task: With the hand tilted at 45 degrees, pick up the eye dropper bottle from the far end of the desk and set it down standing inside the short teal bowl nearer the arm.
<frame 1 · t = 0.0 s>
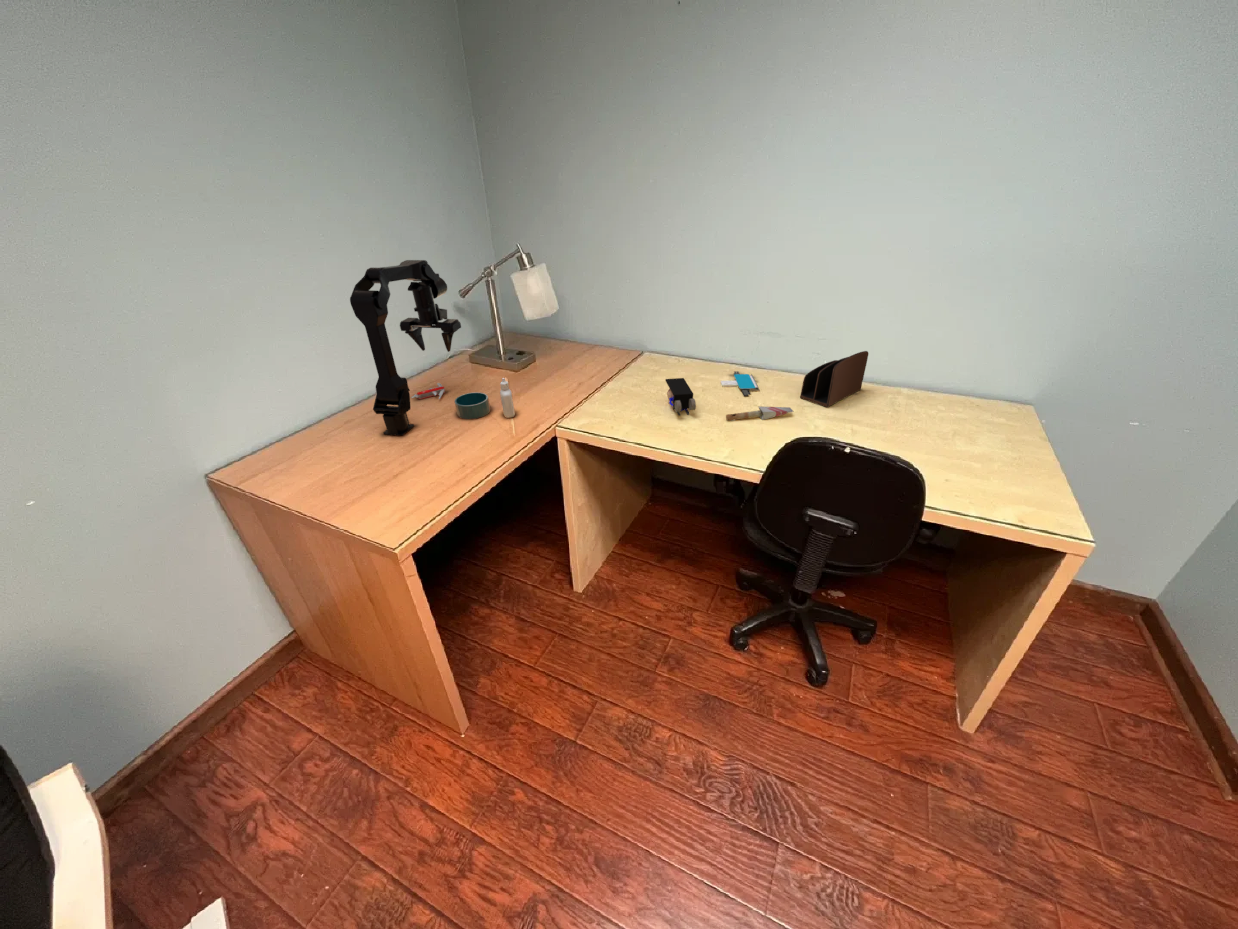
hand: (436, 350, 163), 15 cm above the table, tool pointing down, fingers open, 9 cm apart
teal bowl: (474, 411, 156), on the table
paintbrush: (758, 417, 147), on the table
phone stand: (738, 384, 168), on the table
black block with wheels: (679, 408, 154), on the table
eye dropper bottle: (509, 414, 154), on the table
letter holder: (830, 394, 159), on the table
swiss army knife: (429, 396, 168), on the table
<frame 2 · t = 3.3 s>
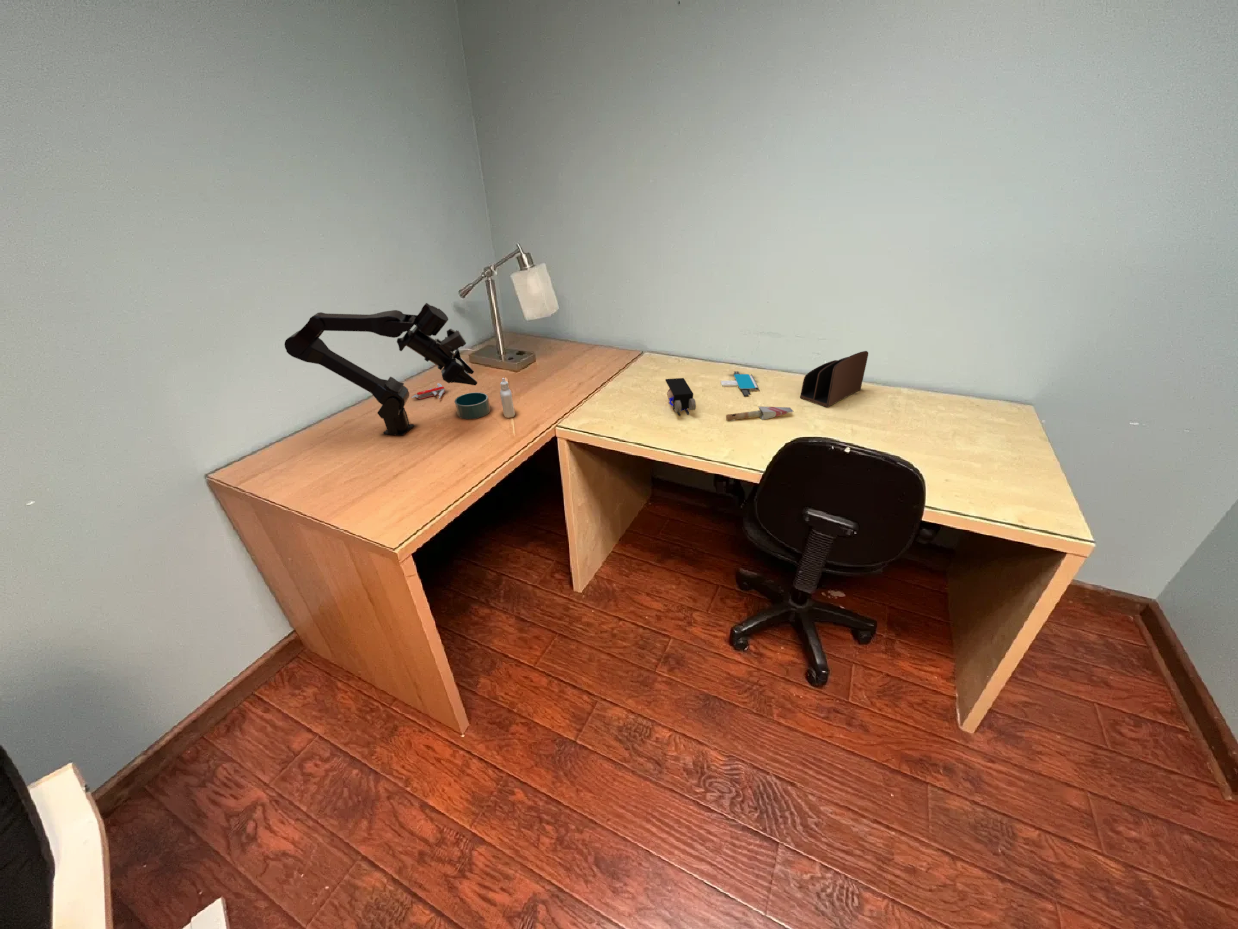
hand: (474, 378, 145), 13 cm above the table, tool tilted 45°, fingers open, 9 cm apart
nothing on the table moved.
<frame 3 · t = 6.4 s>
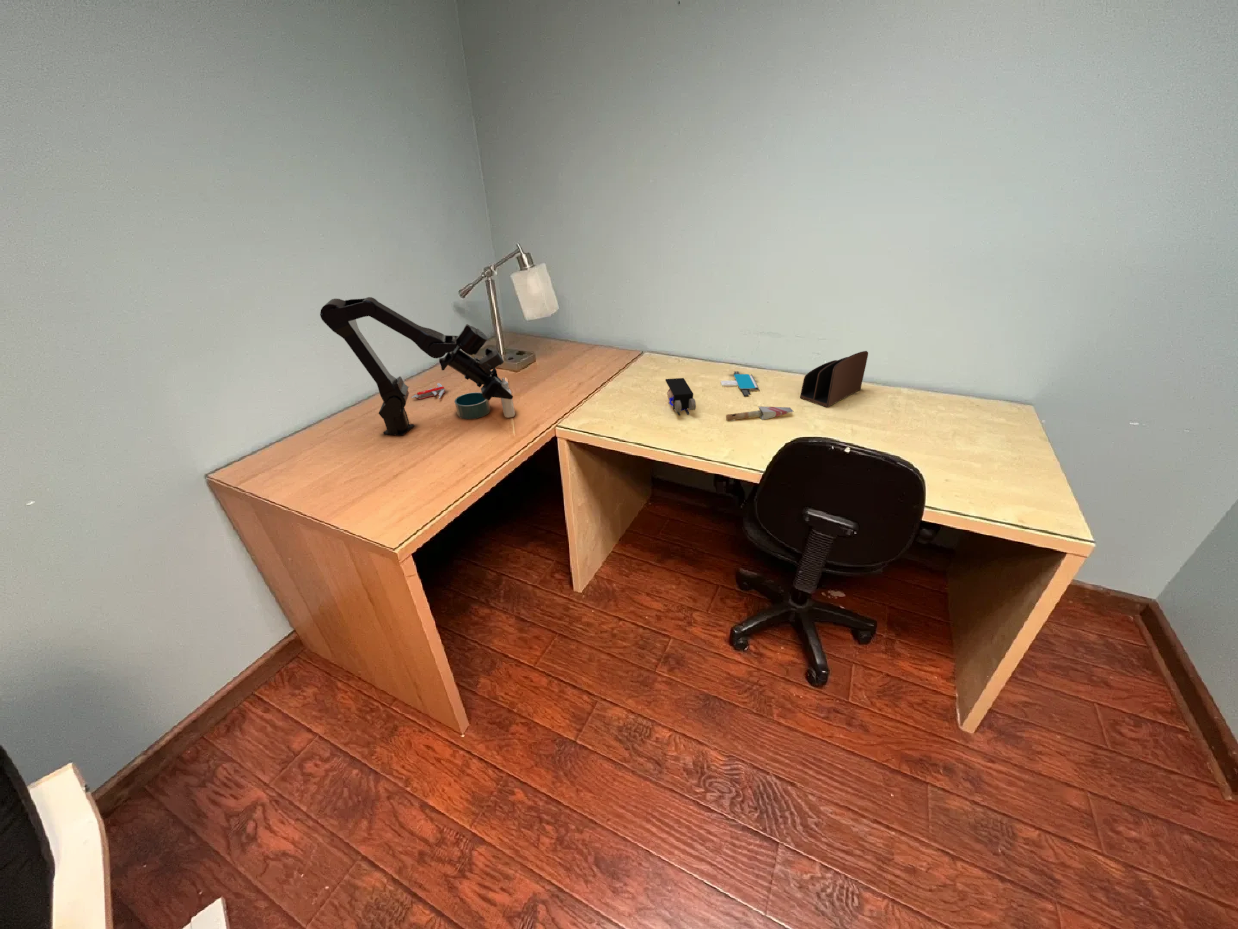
hand: (510, 394, 151), 7 cm above the table, tool tilted 45°, fingers closed on eye dropper bottle, 5 cm apart
eye dropper bottle: (509, 414, 154), on the table, touching gripper
everything else where it was.
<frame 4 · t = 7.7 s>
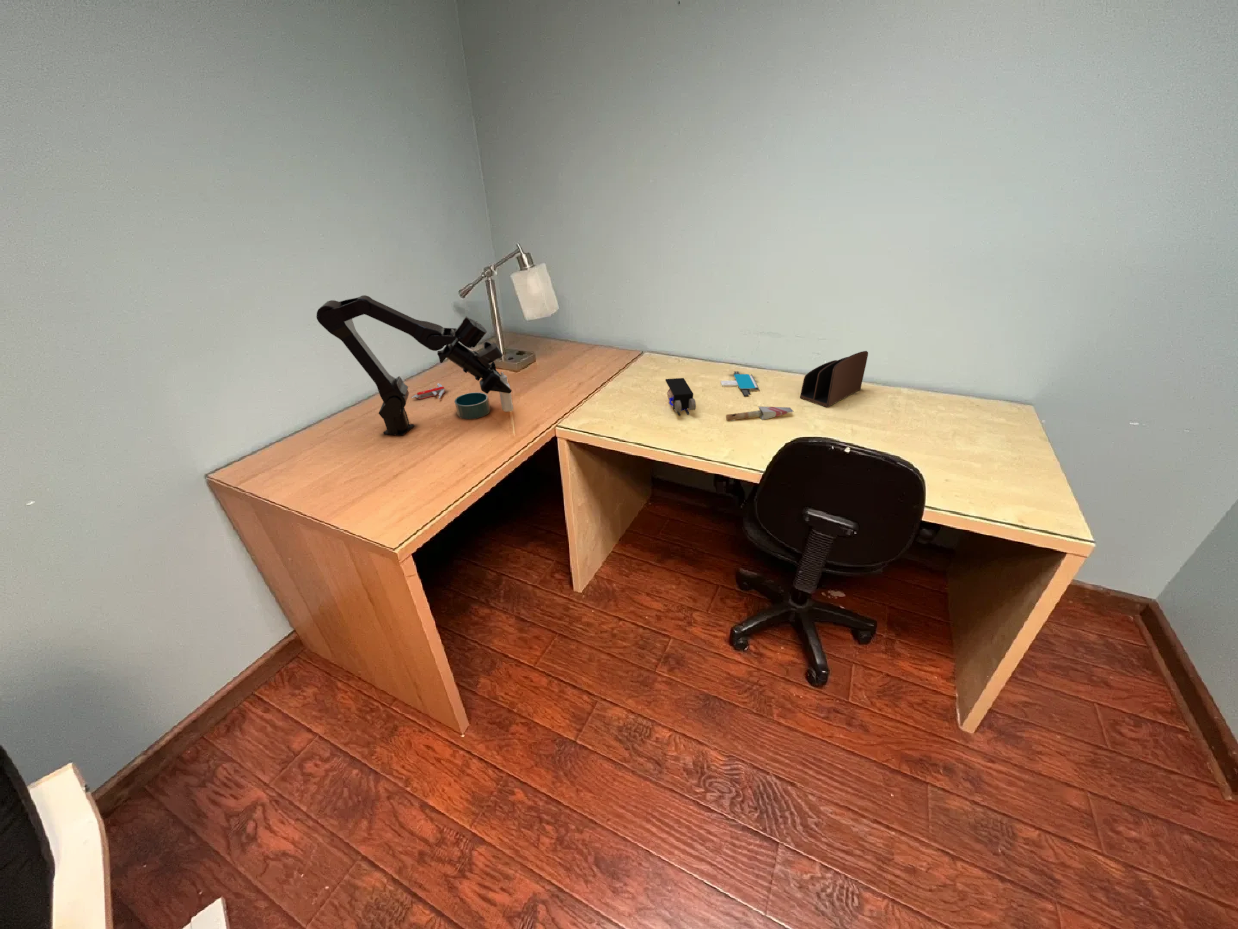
hand: (509, 388, 150), 9 cm above the table, tool tilted 45°, fingers closed on eye dropper bottle, 5 cm apart
eye dropper bottle: (507, 409, 153), point 2 cm above the table, touching gripper
everything else where it was.
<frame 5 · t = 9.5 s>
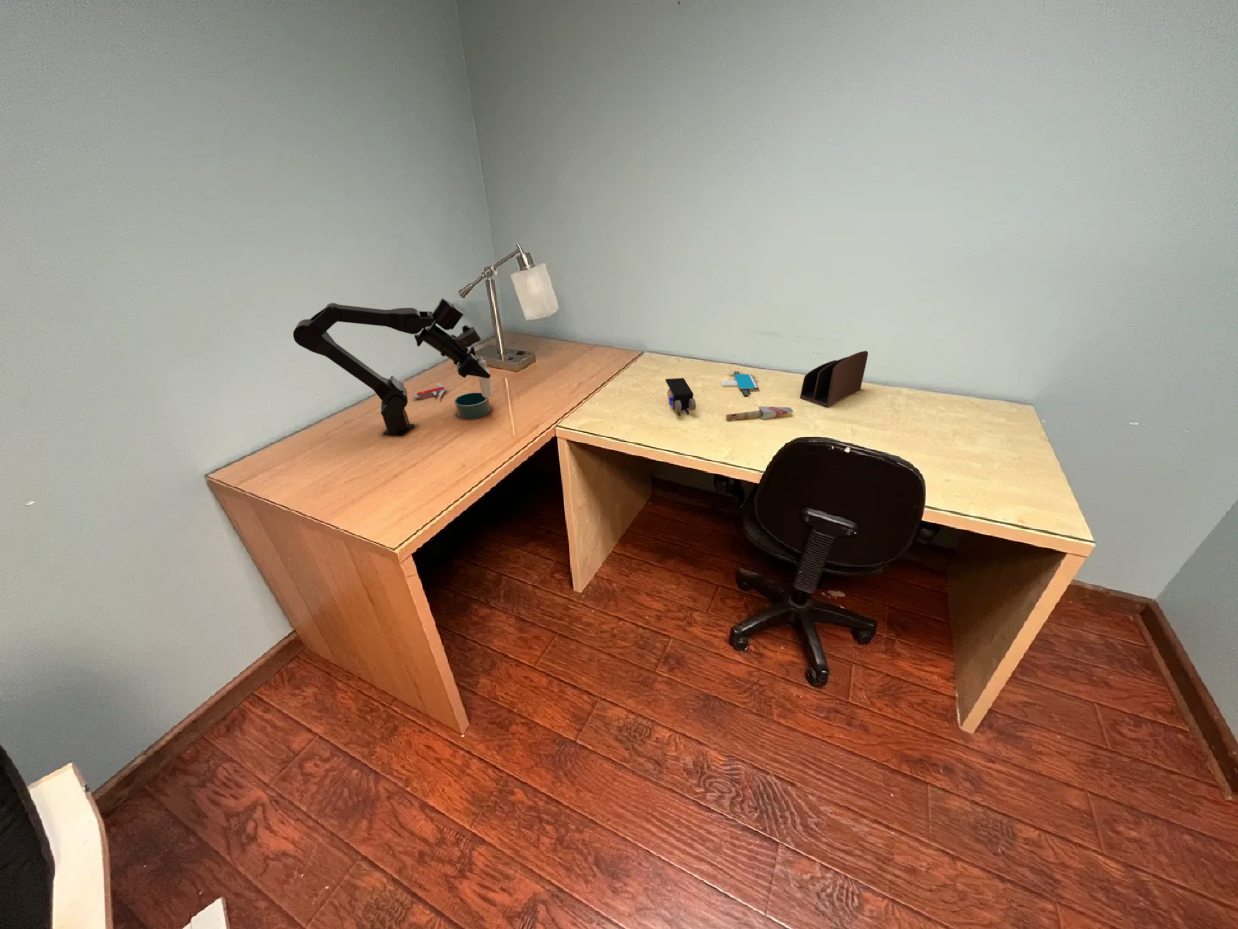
hand: (488, 373, 148), 13 cm above the table, tool tilted 45°, fingers closed on eye dropper bottle, 5 cm apart
eye dropper bottle: (487, 394, 152), point 6 cm above the table, touching gripper
everything else where it was.
when the fingers open (7 cm above the table, at t = 12.6 s): eye dropper bottle stays where it is, resting on teal bowl.
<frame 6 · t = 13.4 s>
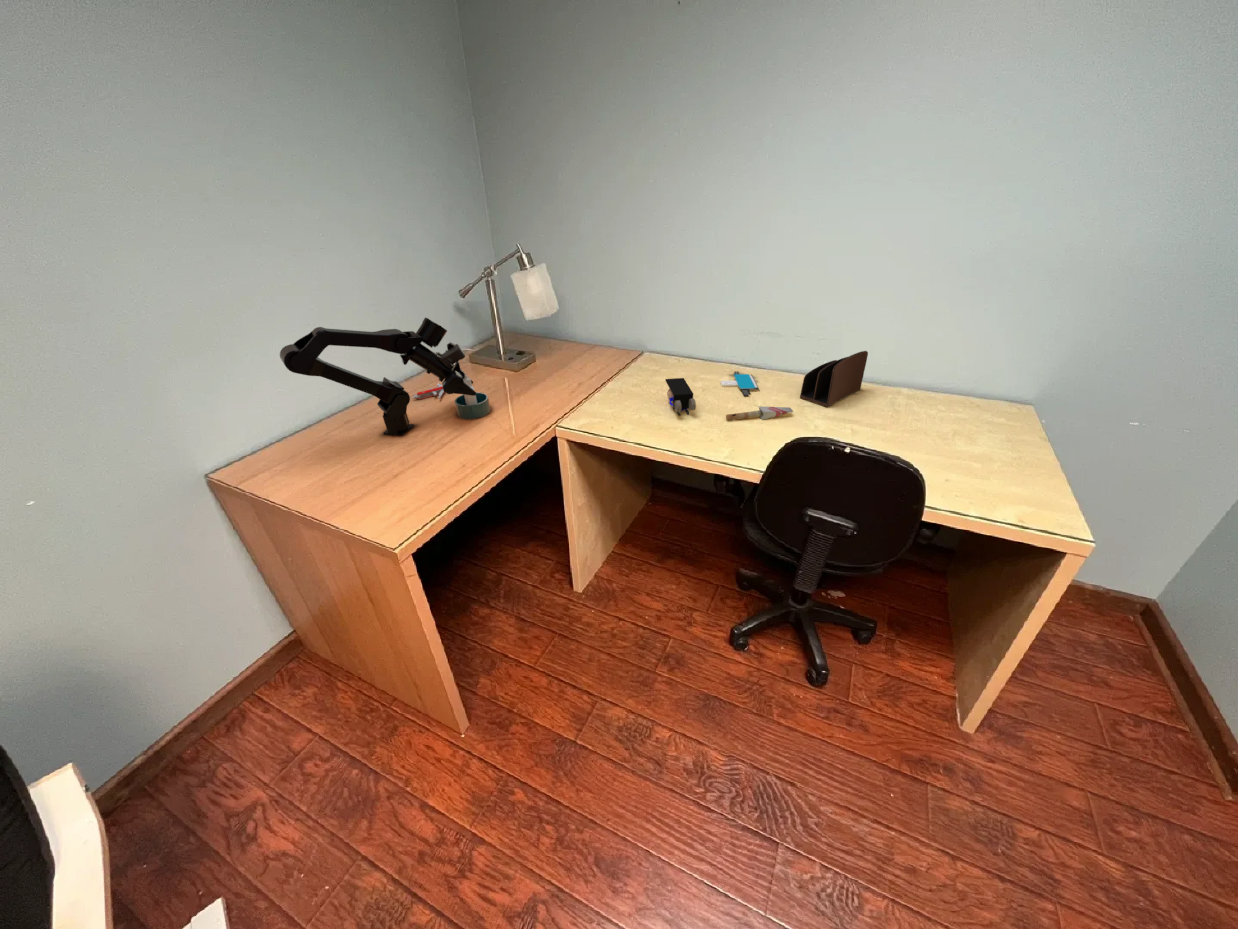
hand: (474, 388, 152), 8 cm above the table, tool tilted 45°, fingers open, 9 cm apart
eye dropper bottle: (473, 411, 156), resting on teal bowl
everything else where it was.
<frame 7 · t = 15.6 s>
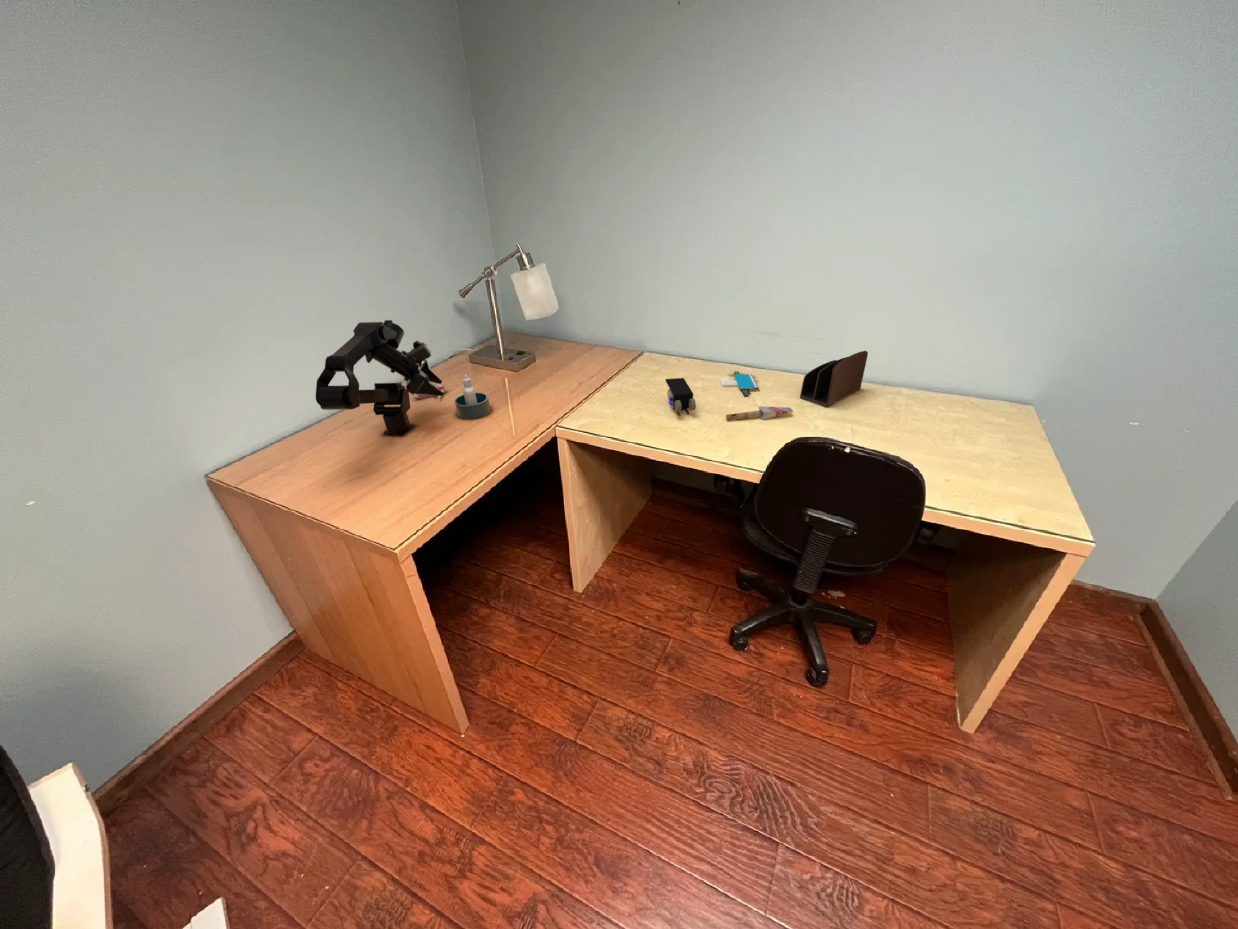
hand: (441, 388, 149), 10 cm above the table, tool tilted 45°, fingers open, 9 cm apart
nothing on the table moved.
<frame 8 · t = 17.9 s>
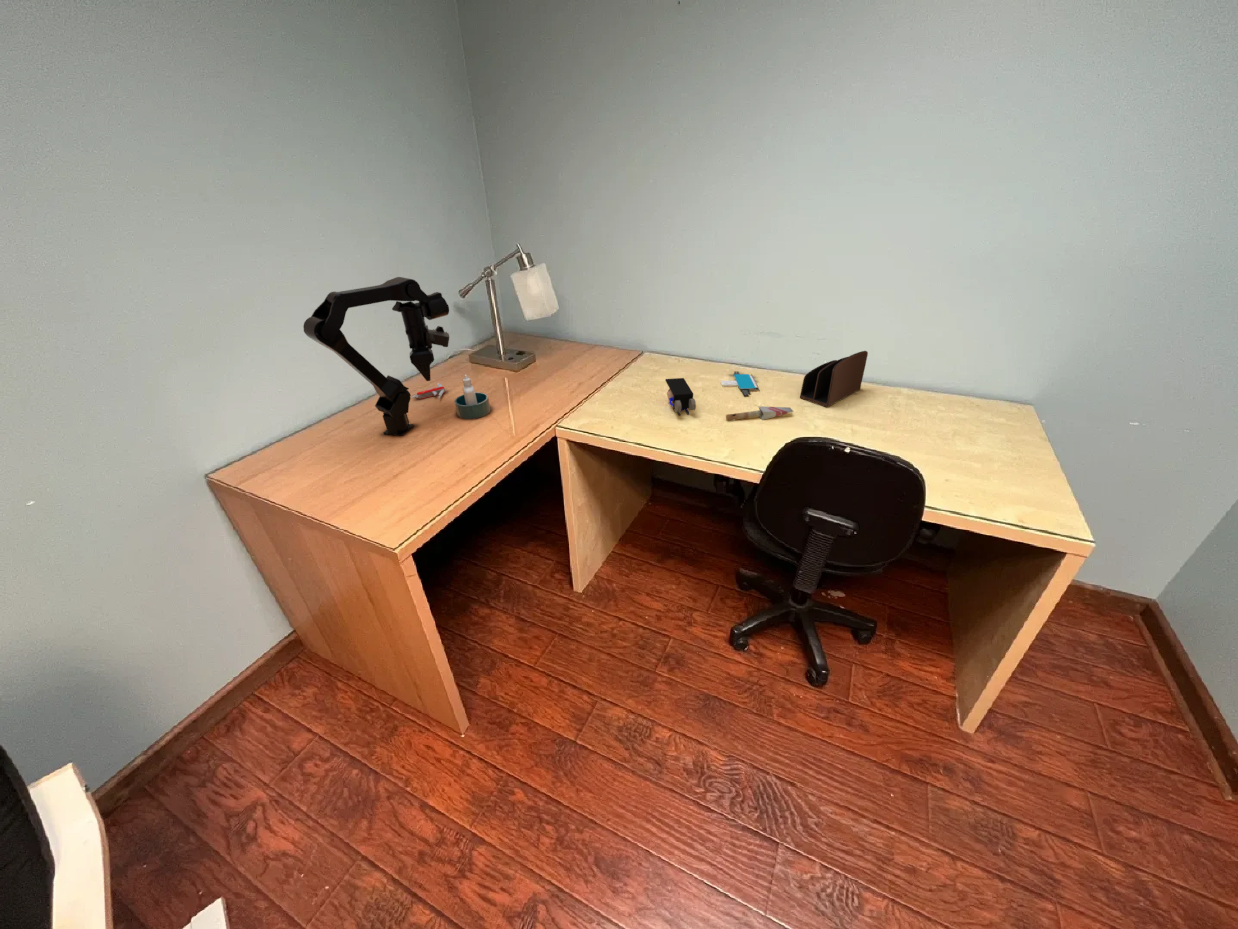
hand: (428, 375, 149), 13 cm above the table, tool pointing down, fingers open, 9 cm apart
nothing on the table moved.
at the end: eye dropper bottle 0.1 cm off-centre in the teal bowl, point 0.3 cm above the teal bowl's base; eye dropper bottle tilted 0°; the gripper is holding nothing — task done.
